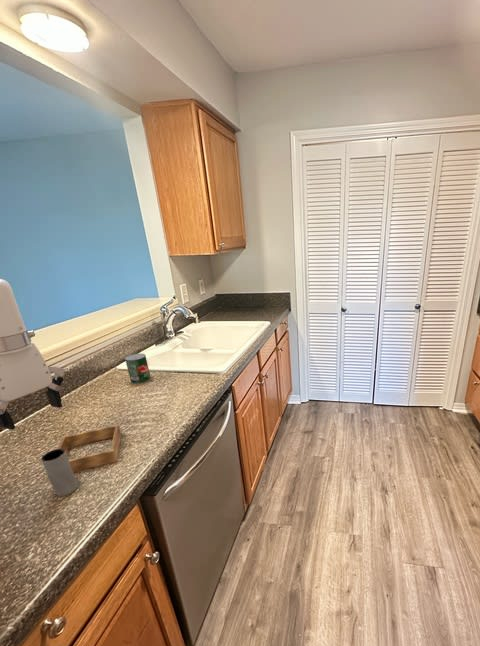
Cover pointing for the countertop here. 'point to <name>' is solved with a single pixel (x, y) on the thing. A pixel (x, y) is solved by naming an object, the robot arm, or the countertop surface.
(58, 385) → the robot arm
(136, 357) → the canned tomato
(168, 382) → the countertop surface
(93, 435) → the wooden square frame
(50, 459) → the planter
